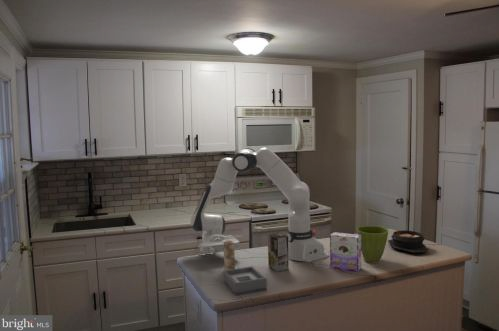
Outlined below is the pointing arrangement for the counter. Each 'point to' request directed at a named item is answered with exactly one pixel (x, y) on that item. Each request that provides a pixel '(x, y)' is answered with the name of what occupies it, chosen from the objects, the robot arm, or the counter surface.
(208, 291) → the counter surface
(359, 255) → the candy box
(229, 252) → the peg
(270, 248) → the coffee box
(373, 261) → the flower pot
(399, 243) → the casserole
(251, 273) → the box
